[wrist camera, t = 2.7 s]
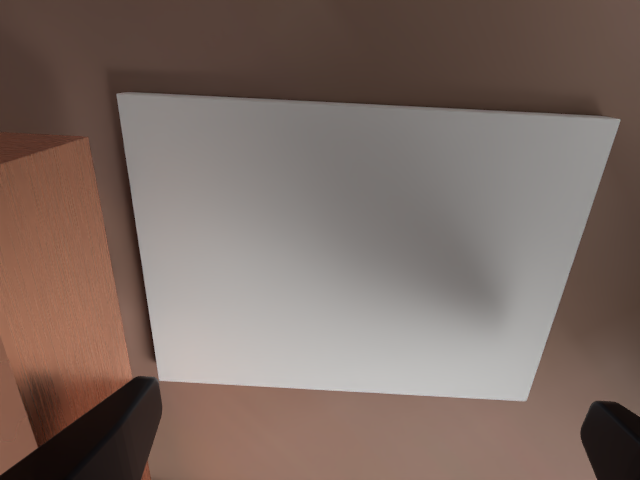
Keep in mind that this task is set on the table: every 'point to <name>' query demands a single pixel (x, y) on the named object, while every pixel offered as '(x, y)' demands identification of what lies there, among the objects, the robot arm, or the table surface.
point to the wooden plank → (53, 293)
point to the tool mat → (356, 240)
